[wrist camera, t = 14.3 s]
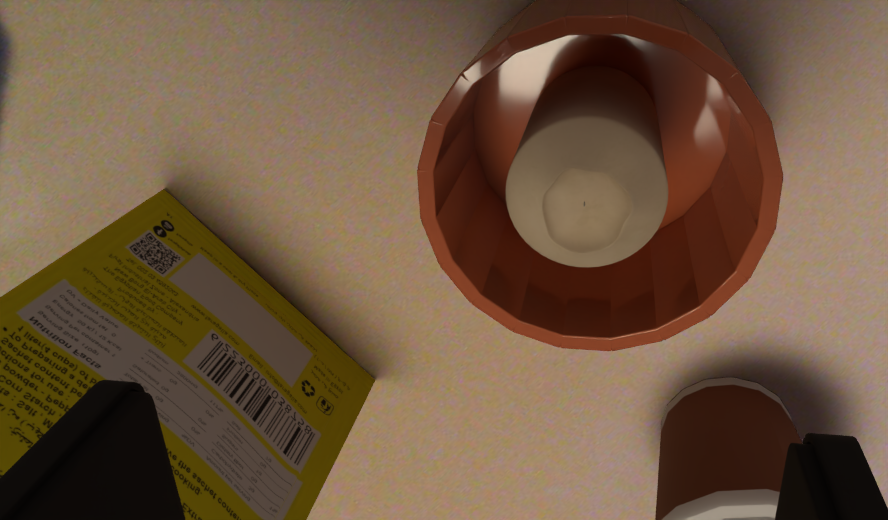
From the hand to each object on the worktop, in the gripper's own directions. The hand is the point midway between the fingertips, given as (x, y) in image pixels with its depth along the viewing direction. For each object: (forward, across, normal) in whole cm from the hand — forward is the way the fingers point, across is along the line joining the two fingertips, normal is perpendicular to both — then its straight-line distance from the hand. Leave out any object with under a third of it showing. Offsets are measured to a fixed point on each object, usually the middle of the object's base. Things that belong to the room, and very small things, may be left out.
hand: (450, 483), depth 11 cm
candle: (+25, -2, +2) cm, 25 cm away
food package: (+26, +15, +11) cm, 32 cm away
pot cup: (+26, -2, +2) cm, 26 cm away
